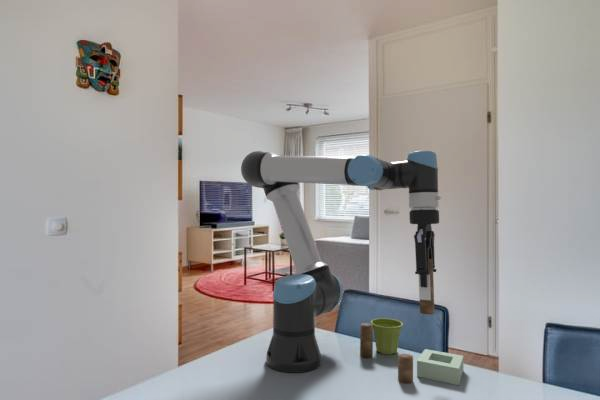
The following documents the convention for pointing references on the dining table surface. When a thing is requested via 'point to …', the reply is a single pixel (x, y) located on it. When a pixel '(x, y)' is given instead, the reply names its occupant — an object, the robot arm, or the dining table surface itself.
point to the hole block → (440, 366)
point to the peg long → (428, 305)
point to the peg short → (405, 368)
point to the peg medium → (366, 340)
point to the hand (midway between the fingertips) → (426, 297)
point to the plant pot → (386, 334)
